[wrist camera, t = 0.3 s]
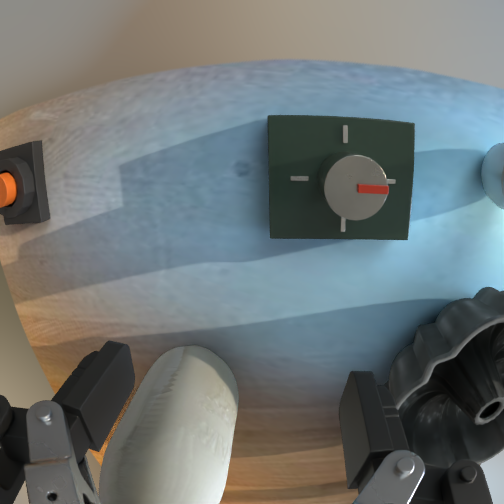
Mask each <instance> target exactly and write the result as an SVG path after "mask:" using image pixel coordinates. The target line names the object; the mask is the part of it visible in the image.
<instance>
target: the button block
mask: <svg viewBox="0 0 504 504" xmlns="http://www.w3.org/2000/svg"><path fill="white" fill-rule="evenodd" d="M2 173H10V174H12V175H13V177H14V178H15V180H16V183H17V197H16V199H15V201H14V202H13V203H12V204H10V205H7V206H4V207H2V208H0V214H2V215H3V216H4V221H5V225H10V224H24V223H40V222H44V221H46V220H48V219H50V213H49V206H48V199H47V192H46V184H45V175H44V165H43V153H42V141H34V142H29V143H26V144H22V145H19V146H15V147H12V148H8V149H5V150H2V151H0V174H2Z"/></svg>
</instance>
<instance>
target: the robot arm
mask: <svg viewBox="0 0 504 504" xmlns="http://www.w3.org/2000/svg"><path fill="white" fill-rule="evenodd" d="M134 382H135V374H134V369H133V364H132V359H131V354H130V349H129V346H128V345H127V344H123V343H118V342H113V341H108V342H106V343H105V345H104V346H103V347H102V349H101V350H100V351H99V352H98V351H94V352H92V353H91V354H89V355H87V356H86V357H84V358H83V360H82V361H81V362H80V364H79V365H78V366H77V368H76V369H75V370H74V371H73V372H72V375H70V376H69V378H68V379H67V380H66V381H65V383H64V384H63V385H62V387H61V388H60V389H59V391H58V392H57V393H56V394H55V396H54V397H53V398H52V400H51V401H47V400H45V401H40V402H37V403H35V404H34V405H32V406H31V407H30V409H25V408H17V407H11V406H10V404H9V402H8V400H7V399H6V398H5V397H4V396H2V395H0V447H1V448H0V504H13V503H14V501H15V499H16V497H17V495H18V493H19V491H20V489H21V487H22V485H23V483H24V481H26V487H27V493H28V499H29V504H102V503H101V501H100V499H99V496H98V494H97V491H96V488H95V485H94V481H93V478H92V475H91V472H90V468H89V465H88V462H87V458H86V456H85V454H86V452H87V450H88V448H89V449H92V450H95V451H98V452H99V451H100V449H101V447H102V446H103V444H104V442H105V440H106V438H107V436H108V434H109V432H110V430H111V429H112V427H113V425H114V423H115V421H116V419H117V417H118V416H119V414H120V412H121V410H122V408H123V406H124V404H125V403H126V401H127V399H128V397H129V395H130V393H131V392H132V390H133V387H134ZM339 418H340V426H341V433H342V441H343V449H344V458H345V467H346V476H347V486H348V489H356V488H358V493H359V495H358V497H357V498H356V499H355V501H354V502H353V503H352V504H493V502H492V499H491V495H490V492H489V488H488V485H487V482H486V479H485V475H484V472H483V470H482V468H481V467H480V466H479V464H477V463H476V462H474V461H472V460H469V459H461V460H458V461H456V462H454V463H453V464H452V465H451V466H450V467H449V468H445V467H437V466H430V465H426V464H424V463H423V461H422V459H421V458H420V457H419V456H418V455H416V454H415V453H413V452H411V451H410V449H409V446H408V442H407V439H406V435H405V432H404V429H403V426H402V422H401V419H400V417H399V413H398V410H397V408H396V403H395V400H394V397H393V395H392V394H391V392H390V391H389V390H388V389H387V388H386V387H385V386H384V385H376V382H375V378H374V375H373V373H372V372H371V371H351V372H350V374H349V377H348V380H347V383H346V386H345V389H344V392H343V395H342V398H341V401H340V407H339Z"/></svg>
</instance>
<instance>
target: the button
mask: <svg viewBox="0 0 504 504" xmlns="http://www.w3.org/2000/svg"><path fill="white" fill-rule="evenodd" d="M16 197H17V183H16V180H15V178H14V177H13V175H12V174H10V173H2V174H0V208H2V207H4V206H7V205H10V204H12V203H13V202H14V201H15V199H16Z"/></svg>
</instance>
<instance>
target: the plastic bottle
mask: <svg viewBox="0 0 504 504" xmlns="http://www.w3.org/2000/svg"><path fill="white" fill-rule="evenodd" d="M481 179H482V184H483V188H484V190H485V193H486V195H487V196H488V198H489V199H490V200H491V201H492V202H493V203H495V204H496V205H497V206H498V207H500V208H501V209H504V143H499V144H496V145H494V146H493V147H492V148H491V149H490V150H489V151H488V153H487V154H486V156H485V158H484V160H483V163H482V168H481Z"/></svg>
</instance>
